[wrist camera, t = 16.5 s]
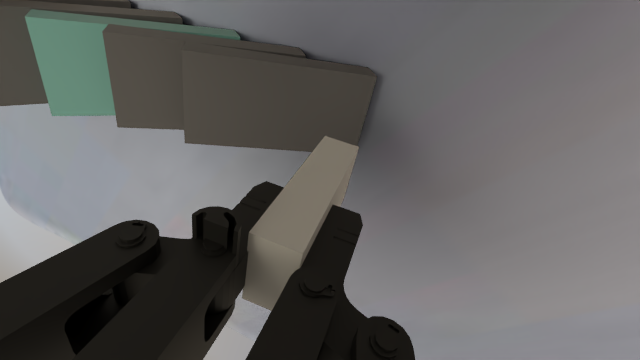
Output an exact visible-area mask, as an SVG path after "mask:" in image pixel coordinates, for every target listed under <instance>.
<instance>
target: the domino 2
mask: <svg viewBox="0 0 640 360" xmlns="http://www.w3.org/2000/svg"><path fill="white" fill-rule="evenodd" d="M25 19H26V23H27V27H28V30H29V34H30V38H31V41H32V45H33V48H34V52H35V56H36V59H37V63H38V67H39V70H40V74H41V78H42V81H43V85H44V88H45V92H46V96H47V99H48V103H49V107H50V110H51V114H52V116H101V115H116V114H115V108H114V102H113V95H112V89H111V83H110V77H109V70H108V64H107V58H106V52H105V46H104V39H103V33H102V31H103V30H104V29H105V28H106V27H107V25H108V24H115V25H123V26H131V27H139V28H147V29H155V30H162V31H170V32H178V33H186V34H194V35H202V36H210V37H218V38H225V39H233V40H240V36H239V35H238V34H237V33H236V32H235V31H234V30H229V29H219V28H209V27H200V26H190V25H180V24H171V23H161V22H151V21H142V20H132V19H122V18H112V17H103V16H93V15H83V14H74V13H64V12H54V11H45V10H35V9H31V10H30V11H29V12H28V13H27V15H26V16H25Z"/></svg>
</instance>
